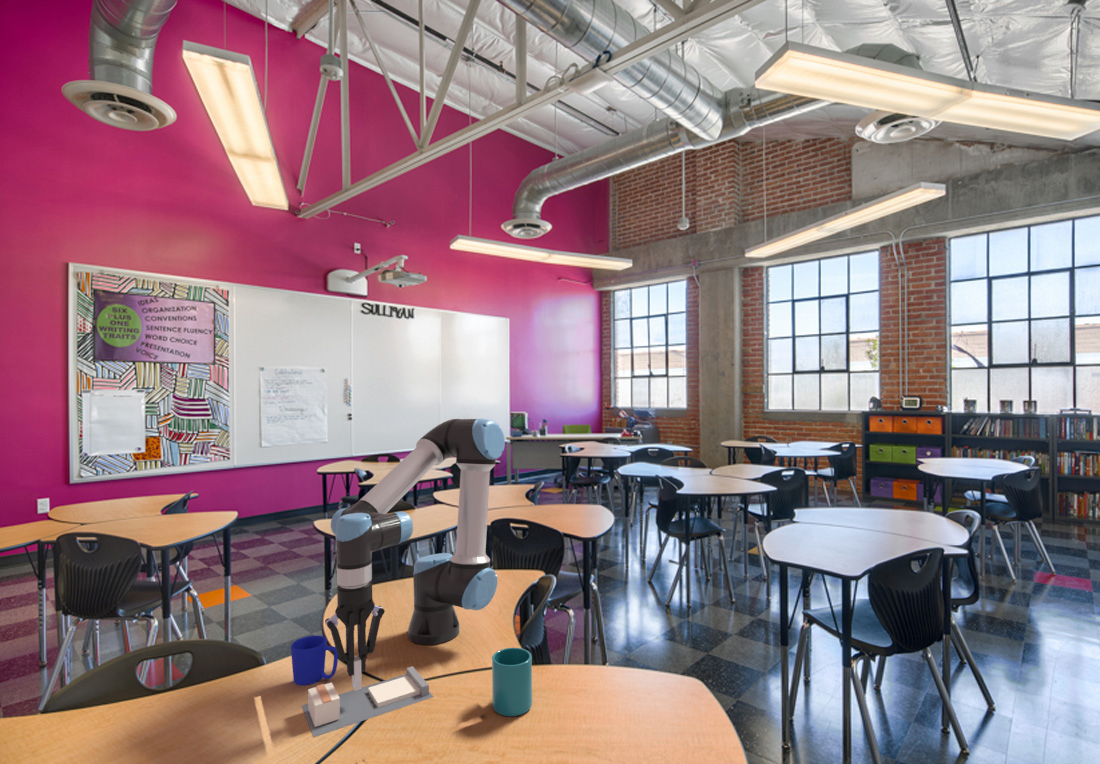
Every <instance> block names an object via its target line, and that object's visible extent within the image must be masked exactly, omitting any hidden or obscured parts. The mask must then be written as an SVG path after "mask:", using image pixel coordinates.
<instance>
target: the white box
mask: <svg viewBox="0 0 1100 764" xmlns="http://www.w3.org/2000/svg"><path fill="white" fill-rule="evenodd" d="M338 695H339V694H338V692H337V689H336V688H335V686H334V683H333V682H327V683H326V684H325V683H321V684H319V685H316V686H314V687H311V688H309V689H307V704H308V711H309V713H310V716H311V718H312V721H313V723H314V726H315V727H317V726H320V725H323V724H326V723H329V722H332V721H335V720H338V719H340V698H339V696H338Z"/></svg>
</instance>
